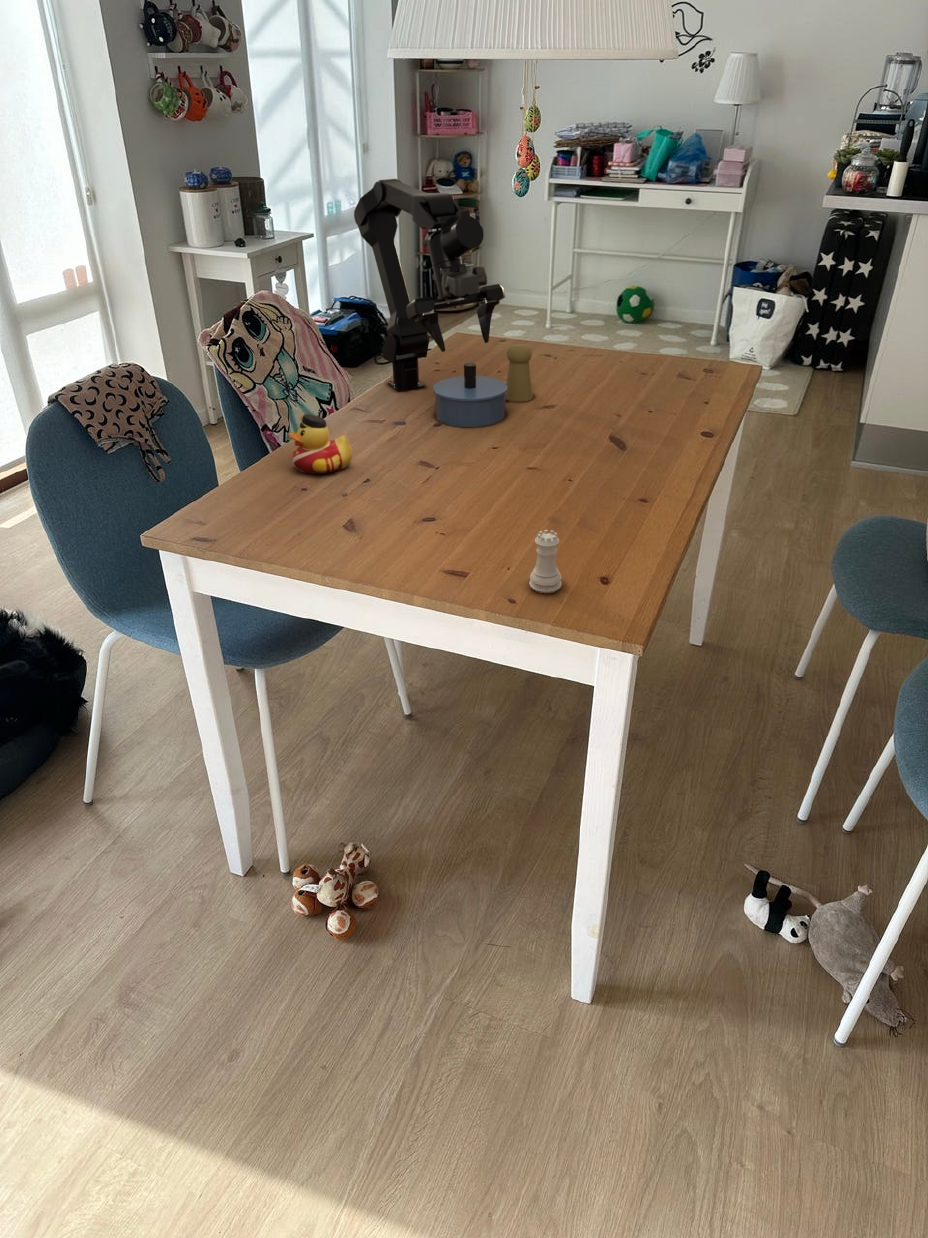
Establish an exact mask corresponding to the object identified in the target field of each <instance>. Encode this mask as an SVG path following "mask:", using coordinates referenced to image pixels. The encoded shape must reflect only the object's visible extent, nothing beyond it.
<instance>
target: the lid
mask: <svg viewBox="0 0 928 1238" xmlns="http://www.w3.org/2000/svg"><path fill="white" fill-rule="evenodd" d="M506 392H507V382H505V381H503V380H501V379H498V378H495V377H490V376H483V375H477V364H476V363H475V362H466V363H464V364H463V375H460V376H453V377H448V378H444V379H441V380H439V381H437V382H435V383H434V384H433V386H432V393H434V395H435V394H436V395H437V396H439V397H442V398H445V399H449V400H456V401H482V400H489V399H493V398H497V397H499V396H502V395H503V394H505V393H506Z"/></svg>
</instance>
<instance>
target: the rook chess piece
mask: <svg viewBox="0 0 928 1238" xmlns="http://www.w3.org/2000/svg"><path fill="white" fill-rule="evenodd" d="M534 542H535V544H536V545H537V548H536V550H535V551H536V553H537V557H536V558H537V559H536V563H535V567H534V568H533V570H532V571H531V573H530V576H529V583H528V584H529V587H530V588H531V589H532V590H533V591H535V592H537V593H538V594H552V593H556V592H557V591H558V590H559V589H560V588H561V587H562V586H563V583H562V580H563V579H562V574H561V572H560V570H559V568H558V567H557V559H556V557H557V553H558V549H557V546H558V544H560V539H559V537H558V533H557V532H555V530H552V529H550V531H549V532H548V529H543V531H542V530H540V531H538V533H537V536H536V538H535V539H534Z"/></svg>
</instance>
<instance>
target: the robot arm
mask: <svg viewBox="0 0 928 1238" xmlns="http://www.w3.org/2000/svg"><path fill="white" fill-rule="evenodd" d="M454 199H455V198H454V197H453V195H452V194H450V193H448V192H447V193H446V192H425V191H423V190H420V189H418V188H417V187H413V186H411V185H409V184H406V183H404V182H402V181H401V180H400V179H398V178H386V179H379V180H378V181H375V183H374V184H373V186H372V188H371V189H370V190H368V191H367V192H366V193H364V194H363V195H362V196H361V197H360V198H359V199H358V202H357V204H356V206H355V208H354V211H353V218H354V222H355V224H356V226H357V228H358V230H359V233H360V236H361V238H362V239H363V240H364V241H365V242H366V243H367V244H368V245H369V246H370V247H371V249H372V252H373V256H374V260H375V263H376V267H377V272H378V274H379V278H380V283H381V285H382V289H383V293H384V297H385V300H386V301H385V302H386V304H387V308H388V312H389V320H388V323H387V327H386V335H387V338H386V340H385V342H384V344H383V346H382V347H381V353H382V357H383V360H385V361H387V362H388V363H389V362H390V363H391V364H392V380H389V381H388V382H387V383H388V385H390V387H392V388H393V389H394V390H395V391H397V392H401V391H408V390H416V389H424V388H425V384H424V383H423V382H421V381H420V371H419V369H420V368H419V359H422V358H427V356H428V351H429V344H430V337H431V338H432V340H433V341H434V343H435V344H436V346H437V347H438V348H439V350H440V351H441V352H442V353H444V352H446V345H445V341H444V337H443V333H442V331H441V327H440V323H439V310H444V309H445V310H446V309H449V308H450V309H451V308H455V307H462V306H466V305H471V304H477V305H478V307H477V308H476V309H475V311H476V315H477V320H478V323H479V328H480V332H481V336H482V339H483V342H484V344H488V343H489V341H490V332H491V323H492V317H493V312H494V309H495V307H497V306H498V305H500V301H502V300H503V299H505V298H506V293H505V289H504V287H503V286H502V285H501V284H500V283H496V284H495V283H494V284H491V285H487V284H488V275H487V273H486V272H487V271H486V267H485V266H483V265H482V266H481V265H480V266H475V267H472V270H471V271H468V269H467V265H466V263H463V260H462V257H463V256H465V255H466V254H468V253H470V252H471V251H473V250H475V249H476V248H478V247H479V246H480V245H481V244H482V242H483V240H484V229H483V226H482V225H481V223H480V221H478V219H476V218H475V217H473V216H471V213H470V210H469V209H461V207H460V206H459V205H458V204H457V202H456V201H455V200H454ZM402 211H403V212H405V213H408V214H409V215H411V216H412V222H413V223H414V224H416V225H417V226H418V227H419V228H421V230H429V231H426V234H425V237H424V239H423V240H422V247H427V249H428V254H429V258H430V262H431V266H432V271H433V274H432V275H431V277H432V280H433V281H435V285H436V289H437V294H438V296H437V297H436V298H437V299H434V298H433V297H432V295H430V296H425V297H418V298H414V299H412V300H410V299H411V298H410V295H409V292H408V291H409V290H408V288H407V284H406V279H405V277H404V273H403V268H402V266H401V261H400V258H399V254H398V250H397V246H396V243H395V237H396V234H397V230H398V226H399V224H398V217H399V215H400V214H401V213H402ZM430 230H431V231H430ZM432 230H433V231H432ZM435 311H436V312H435Z"/></svg>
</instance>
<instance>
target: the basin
mask: <svg viewBox="0 0 928 1238" xmlns="http://www.w3.org/2000/svg"><path fill="white" fill-rule="evenodd" d="M434 395H435V396H434V397H435V417H436V420H438V421H439V422H441V423H443V424H445V425H447V426H448V425H449V426H452V427H460V428H480V427H487V426H491V425H494V424H495V425H496V424H497V423H499V422H501V421H502V420H503V419H504V418H505V416H506V399H505V394H503V395H502V396H499V397H497V398H493V399H489V400H482V401H456V400H449V399H445V398H442V397H439V396H437V395H436V394H435V393H434Z"/></svg>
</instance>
